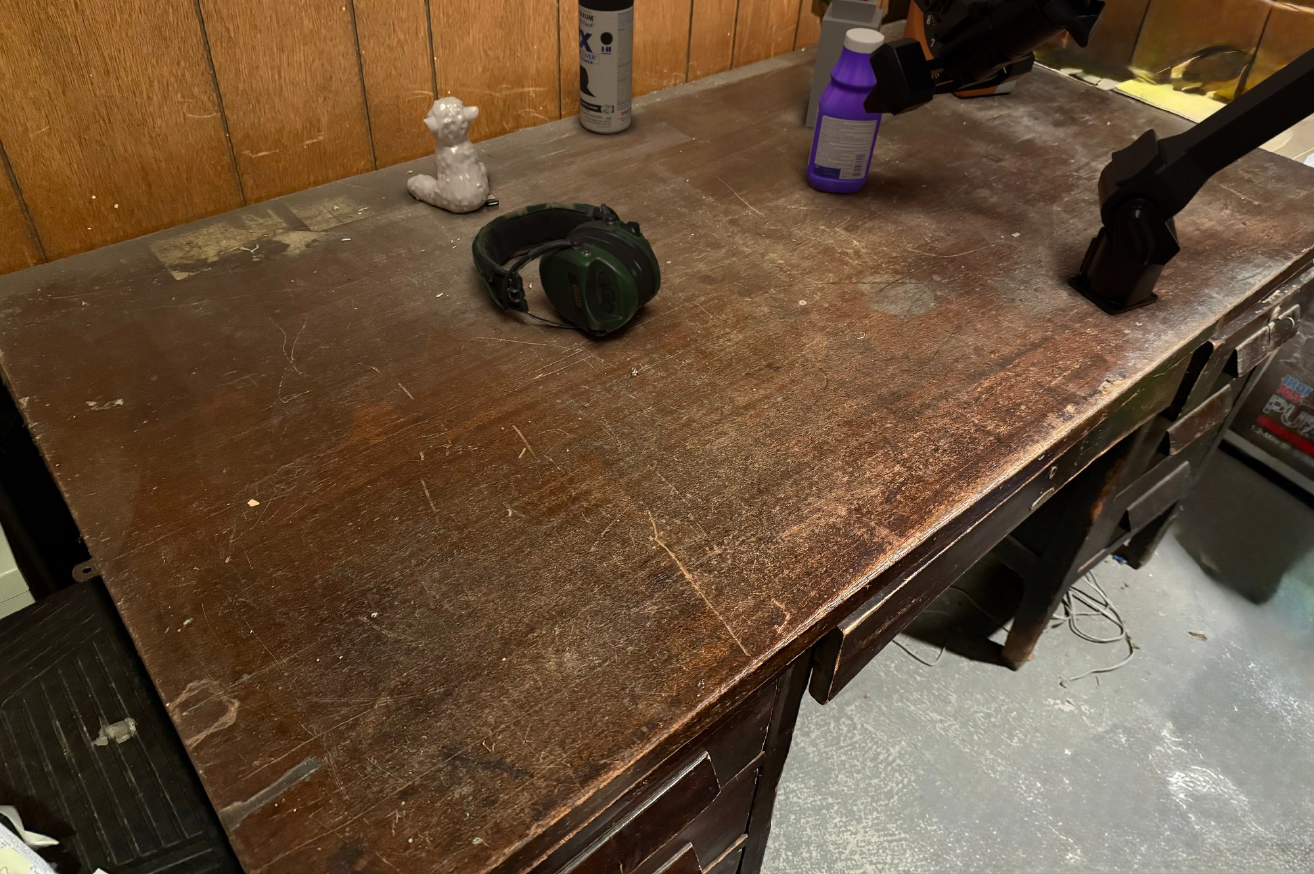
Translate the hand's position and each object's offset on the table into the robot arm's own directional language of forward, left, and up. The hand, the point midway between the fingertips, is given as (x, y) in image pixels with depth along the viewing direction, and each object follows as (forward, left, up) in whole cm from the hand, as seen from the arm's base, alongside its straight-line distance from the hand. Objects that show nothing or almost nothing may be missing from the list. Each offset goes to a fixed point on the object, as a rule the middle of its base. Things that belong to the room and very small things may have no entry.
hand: (897, 99), depth 93 cm
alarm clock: (+28, -35, -13) cm, 47 cm away
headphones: (-3, +39, -13) cm, 41 cm away
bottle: (+6, +1, -13) cm, 15 cm away
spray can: (+31, +20, -13) cm, 39 cm away
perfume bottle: (+21, -9, -13) cm, 27 cm away
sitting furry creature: (+19, +43, -13) cm, 49 cm away
